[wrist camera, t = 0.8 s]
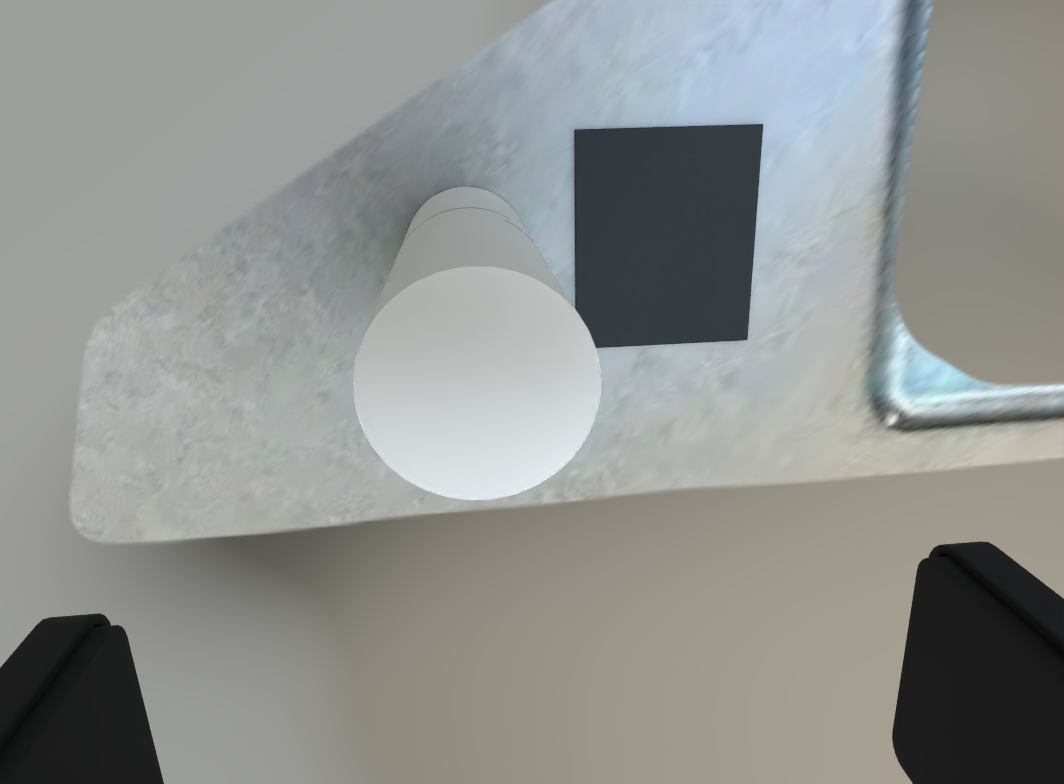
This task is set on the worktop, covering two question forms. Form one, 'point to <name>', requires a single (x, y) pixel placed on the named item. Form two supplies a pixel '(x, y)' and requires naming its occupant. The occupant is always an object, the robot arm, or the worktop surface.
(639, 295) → the mat
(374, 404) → the cylindrical container
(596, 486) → the worktop surface
